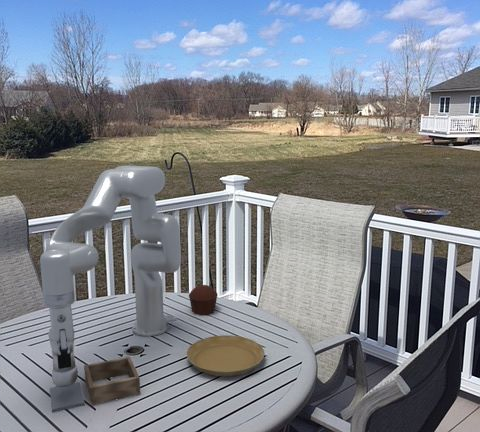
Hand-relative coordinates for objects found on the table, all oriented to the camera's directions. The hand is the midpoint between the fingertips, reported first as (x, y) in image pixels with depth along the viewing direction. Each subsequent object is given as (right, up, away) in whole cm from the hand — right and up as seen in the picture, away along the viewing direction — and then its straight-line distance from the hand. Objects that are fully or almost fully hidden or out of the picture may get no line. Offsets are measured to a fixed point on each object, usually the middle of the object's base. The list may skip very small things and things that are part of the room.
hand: (63, 361), depth 128 cm
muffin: (+33, +1, +61) cm, 69 cm away
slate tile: (0, -10, +2) cm, 11 cm away
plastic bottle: (0, -7, +1) cm, 7 cm away
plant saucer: (+42, -7, +22) cm, 48 cm away
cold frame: (+11, -9, +7) cm, 16 cm away
